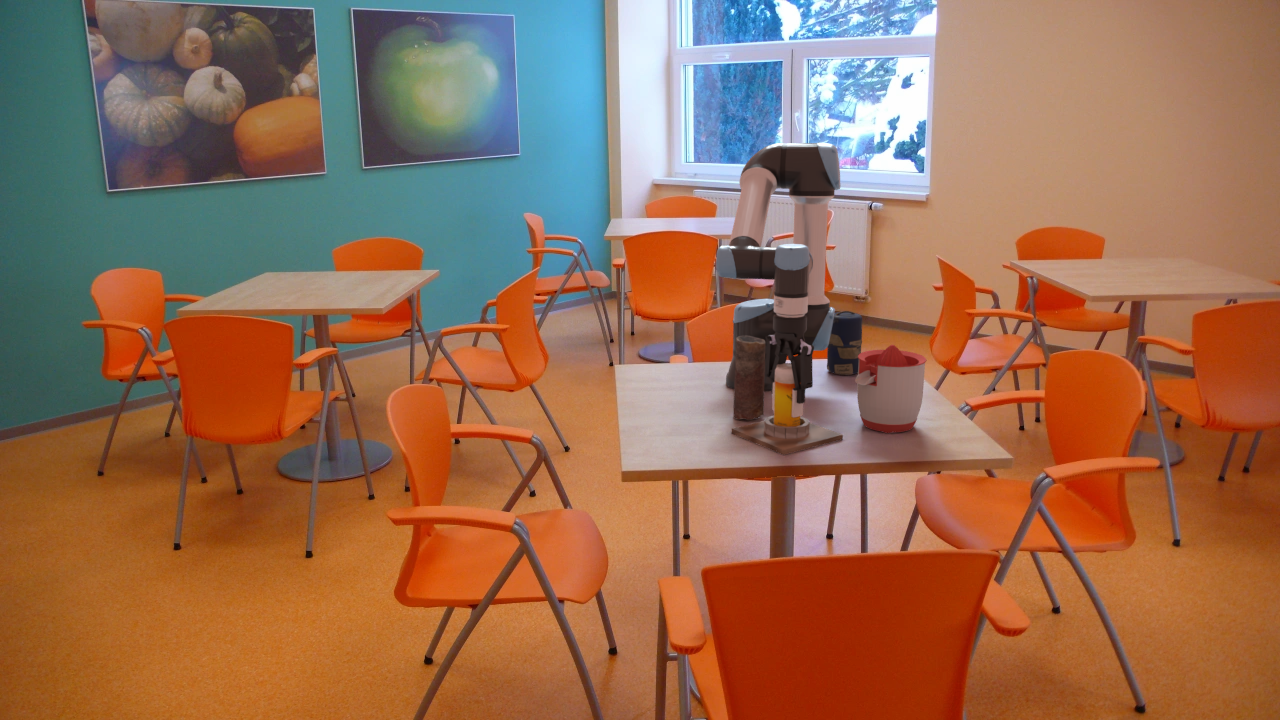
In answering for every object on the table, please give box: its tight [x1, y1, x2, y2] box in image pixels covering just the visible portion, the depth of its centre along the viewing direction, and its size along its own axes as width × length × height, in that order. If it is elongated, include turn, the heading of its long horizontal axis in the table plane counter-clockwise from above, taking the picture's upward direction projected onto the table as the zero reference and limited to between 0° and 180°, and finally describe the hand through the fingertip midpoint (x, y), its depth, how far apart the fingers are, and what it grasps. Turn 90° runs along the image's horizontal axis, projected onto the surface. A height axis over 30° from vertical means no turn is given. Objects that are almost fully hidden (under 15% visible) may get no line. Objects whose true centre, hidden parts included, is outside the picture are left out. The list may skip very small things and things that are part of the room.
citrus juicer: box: [854, 344, 927, 434], centre depth 232 cm, size 16×17×20 cm
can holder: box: [731, 415, 844, 456], centre depth 228 cm, size 18×18×4 cm
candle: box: [733, 336, 765, 421], centre depth 240 cm, size 8×7×20 cm
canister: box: [826, 310, 863, 376], centre depth 280 cm, size 10×10×18 cm
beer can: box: [773, 362, 801, 427], centre depth 226 cm, size 6×6×15 cm
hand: (787, 412), depth 227 cm, fingers closed on beer can, 6 cm apart
